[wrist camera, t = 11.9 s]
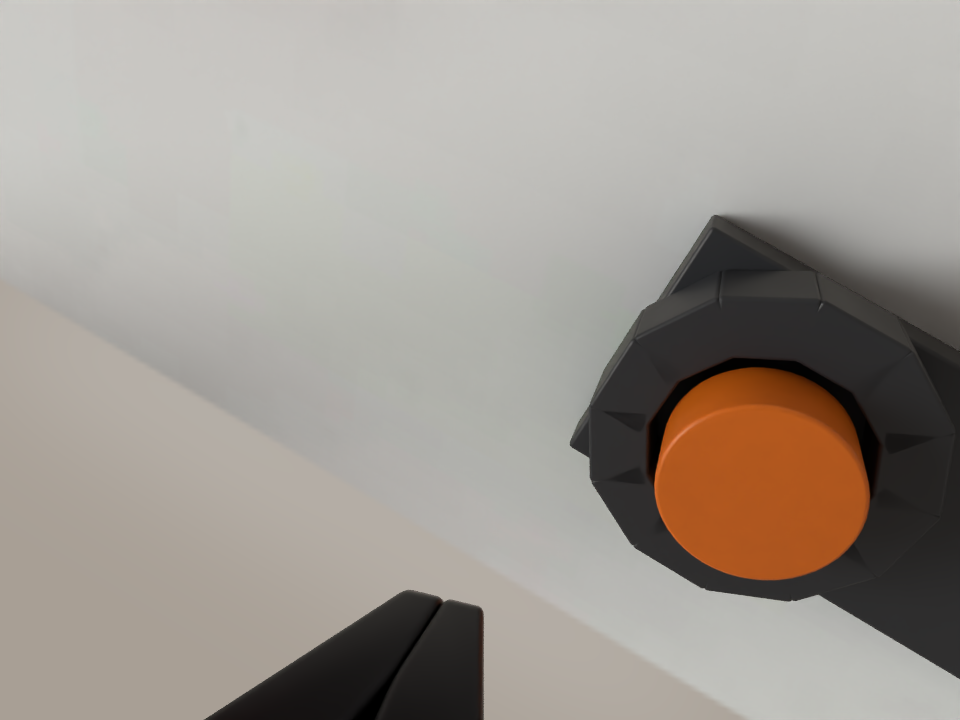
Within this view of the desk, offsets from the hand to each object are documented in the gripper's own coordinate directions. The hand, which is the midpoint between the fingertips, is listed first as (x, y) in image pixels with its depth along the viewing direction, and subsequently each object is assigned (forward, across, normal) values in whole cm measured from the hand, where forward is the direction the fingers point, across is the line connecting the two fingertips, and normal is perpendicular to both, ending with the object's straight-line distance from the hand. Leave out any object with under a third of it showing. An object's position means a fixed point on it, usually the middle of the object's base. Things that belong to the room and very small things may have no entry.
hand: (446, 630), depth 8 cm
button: (+9, -3, +2) cm, 9 cm away
